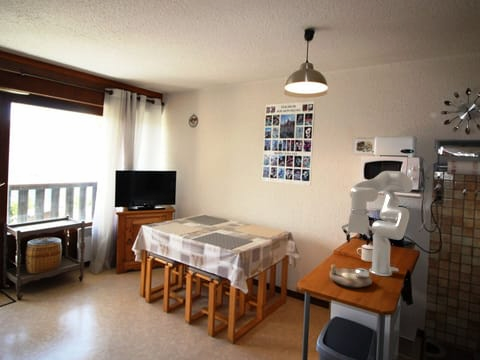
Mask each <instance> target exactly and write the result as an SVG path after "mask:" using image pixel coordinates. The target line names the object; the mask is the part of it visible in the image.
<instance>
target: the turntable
mask: <svg viewBox="0 0 480 360" xmlns="http://www.w3.org/2000/svg"><path fill="white" fill-rule="evenodd" d="M330 265H331V266H330V267H331V268H330V269H331V270H329V278H330V280H332V281H333V282H335V283H336V282H337V284H338V283H340V284H343V285H348V286H355V287H362V286H364V287H367V286H370V285H371V284H372V283H373V277H372V276H371V275H370V274H369V278H368V279H359V278H357V277H355V269H351V268H337V265H336V264H330ZM340 284H339V285H340ZM362 288H363V287H362Z"/></svg>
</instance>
